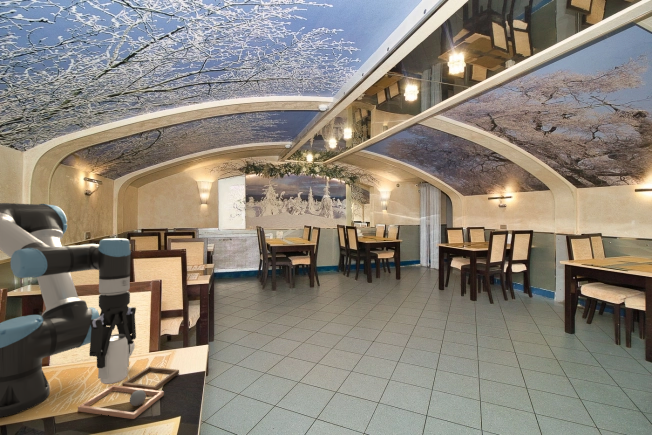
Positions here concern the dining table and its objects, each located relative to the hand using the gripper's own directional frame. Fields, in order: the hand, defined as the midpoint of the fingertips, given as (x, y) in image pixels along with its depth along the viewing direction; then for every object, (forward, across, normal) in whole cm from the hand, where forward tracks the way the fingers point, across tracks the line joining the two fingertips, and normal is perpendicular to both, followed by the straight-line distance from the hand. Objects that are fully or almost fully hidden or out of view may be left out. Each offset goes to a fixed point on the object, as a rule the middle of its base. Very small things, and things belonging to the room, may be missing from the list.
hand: (114, 372), depth 92 cm
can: (+2, 0, 0) cm, 2 cm away
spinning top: (+9, +18, +14) cm, 25 cm away
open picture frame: (+9, 0, -3) cm, 9 cm away
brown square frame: (+9, +13, -2) cm, 16 cm away
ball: (+9, 0, -8) cm, 12 cm away
